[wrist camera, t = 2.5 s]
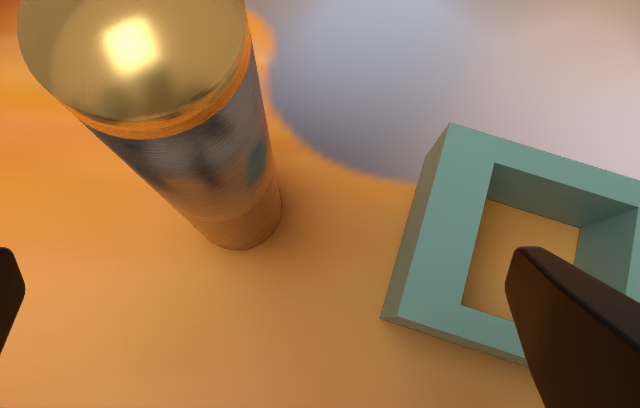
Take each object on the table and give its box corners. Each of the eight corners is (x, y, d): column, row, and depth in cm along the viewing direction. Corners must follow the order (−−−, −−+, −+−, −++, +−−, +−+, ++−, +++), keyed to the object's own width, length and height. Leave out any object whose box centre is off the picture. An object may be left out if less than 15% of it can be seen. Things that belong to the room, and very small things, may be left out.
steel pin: (202, 258, 21) (26, 137, 8) (188, 176, 22) (9, -59, 9) (289, 239, 22) (264, 91, 8) (271, 159, 23) (223, -93, 9)
